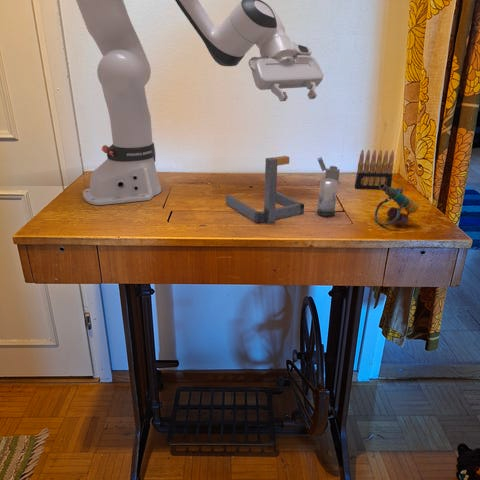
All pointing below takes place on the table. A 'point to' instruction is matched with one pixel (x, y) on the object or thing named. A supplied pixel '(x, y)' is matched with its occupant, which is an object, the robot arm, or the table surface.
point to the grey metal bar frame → (269, 198)
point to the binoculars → (402, 202)
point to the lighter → (329, 170)
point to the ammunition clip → (374, 171)
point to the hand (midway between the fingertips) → (299, 98)
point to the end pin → (327, 197)
